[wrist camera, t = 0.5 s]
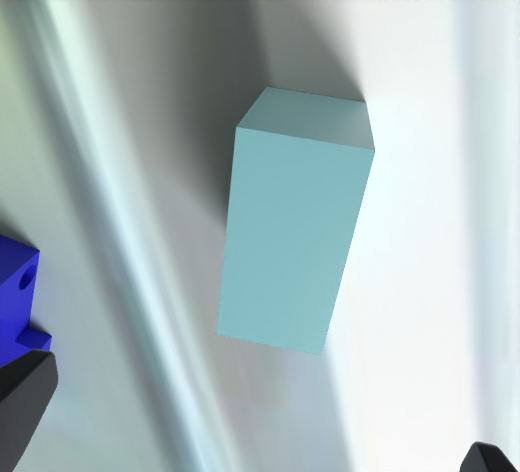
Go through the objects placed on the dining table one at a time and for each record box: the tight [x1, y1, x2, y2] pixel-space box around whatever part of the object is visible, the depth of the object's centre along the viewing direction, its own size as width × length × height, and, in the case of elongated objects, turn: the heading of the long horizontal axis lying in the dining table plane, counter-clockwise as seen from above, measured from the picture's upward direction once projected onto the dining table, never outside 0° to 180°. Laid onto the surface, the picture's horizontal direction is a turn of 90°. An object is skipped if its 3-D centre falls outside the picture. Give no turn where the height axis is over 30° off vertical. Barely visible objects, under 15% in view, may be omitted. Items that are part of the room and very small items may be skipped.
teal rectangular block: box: [216, 86, 375, 356], centre depth 17 cm, size 4×8×6 cm, turn 174°
